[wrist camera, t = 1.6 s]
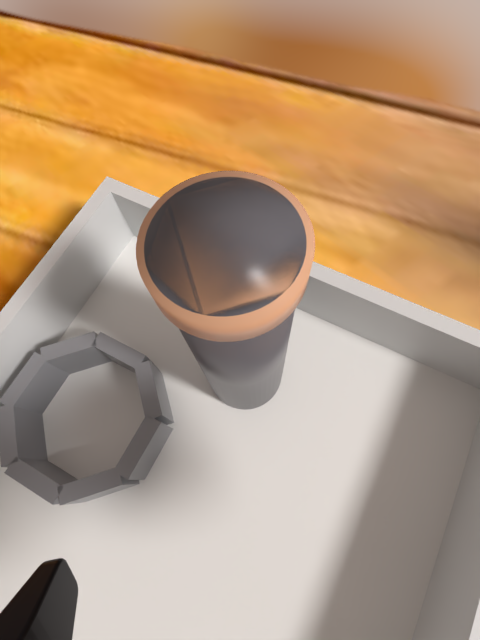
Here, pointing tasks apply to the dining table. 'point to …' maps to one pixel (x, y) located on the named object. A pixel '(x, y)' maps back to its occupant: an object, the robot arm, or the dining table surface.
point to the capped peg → (229, 276)
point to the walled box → (236, 458)
